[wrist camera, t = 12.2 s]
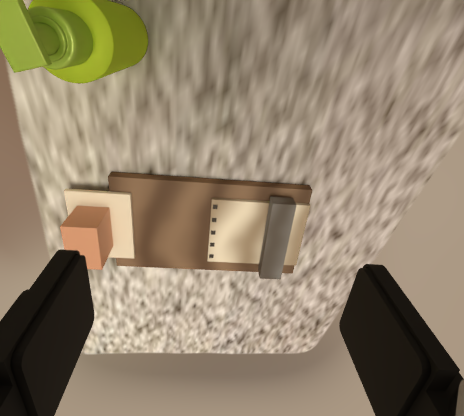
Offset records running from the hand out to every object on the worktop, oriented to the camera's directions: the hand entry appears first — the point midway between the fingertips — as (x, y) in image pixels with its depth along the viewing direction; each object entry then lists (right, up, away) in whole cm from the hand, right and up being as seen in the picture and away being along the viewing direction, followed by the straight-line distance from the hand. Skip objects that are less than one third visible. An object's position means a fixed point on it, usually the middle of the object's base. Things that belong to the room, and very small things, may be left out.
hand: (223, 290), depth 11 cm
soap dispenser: (-12, +21, +23) cm, 33 cm away
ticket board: (-3, +1, +34) cm, 34 cm away
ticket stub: (-17, +1, +32) cm, 36 cm away
